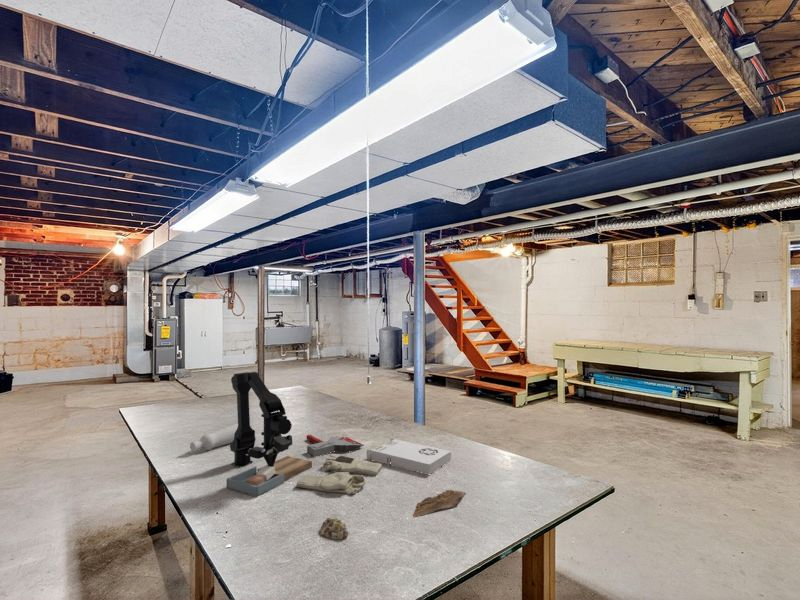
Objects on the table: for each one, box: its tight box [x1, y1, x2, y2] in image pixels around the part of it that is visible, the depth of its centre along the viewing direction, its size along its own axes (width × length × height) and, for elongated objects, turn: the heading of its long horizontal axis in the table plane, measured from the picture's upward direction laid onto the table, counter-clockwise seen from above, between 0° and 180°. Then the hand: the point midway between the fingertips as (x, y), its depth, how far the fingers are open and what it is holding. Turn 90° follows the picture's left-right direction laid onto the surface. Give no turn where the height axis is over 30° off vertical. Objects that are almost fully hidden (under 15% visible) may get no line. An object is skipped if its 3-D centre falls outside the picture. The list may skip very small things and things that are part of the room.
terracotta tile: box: [246, 475, 266, 486], centre depth 156 cm, size 5×5×2 cm
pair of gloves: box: [296, 453, 383, 495], centre depth 163 cm, size 30×26×5 cm
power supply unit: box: [366, 438, 452, 475], centre depth 182 cm, size 19×33×5 cm, turn 56°
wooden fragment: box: [412, 489, 467, 518], centre depth 141 cm, size 26×11×1 cm, turn 128°
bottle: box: [189, 422, 252, 453], centre depth 203 cm, size 9×9×30 cm
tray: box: [226, 466, 285, 498], centre depth 156 cm, size 16×14×4 cm
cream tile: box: [256, 465, 276, 480], centre depth 160 cm, size 5×5×2 cm
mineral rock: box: [319, 517, 349, 540], centre depth 123 cm, size 11×4×8 cm
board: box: [257, 455, 313, 482], centre depth 170 cm, size 14×17×2 cm
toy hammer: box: [306, 434, 364, 458], centre depth 202 cm, size 24×4×30 cm
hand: (271, 468), depth 163 cm, fingers closed
